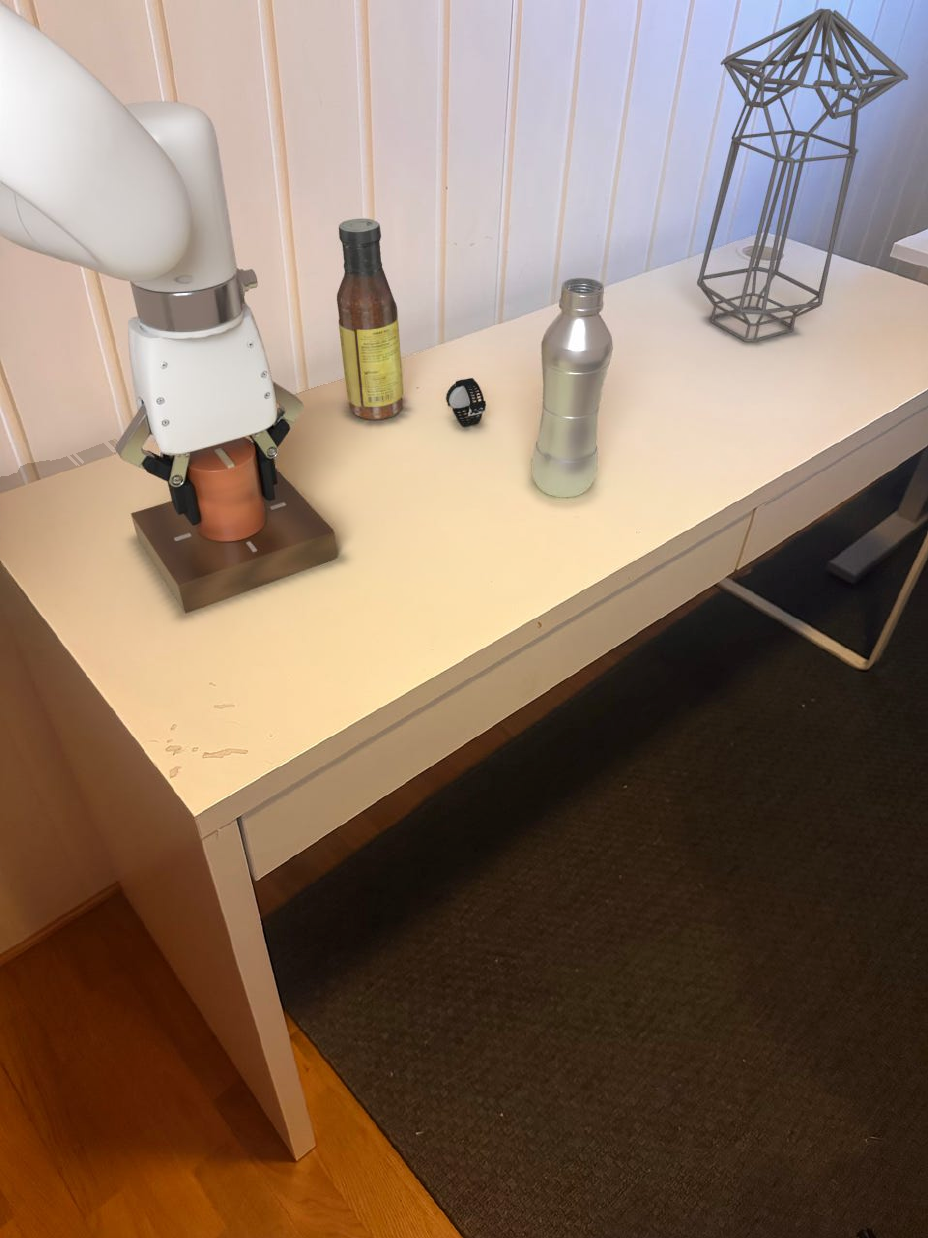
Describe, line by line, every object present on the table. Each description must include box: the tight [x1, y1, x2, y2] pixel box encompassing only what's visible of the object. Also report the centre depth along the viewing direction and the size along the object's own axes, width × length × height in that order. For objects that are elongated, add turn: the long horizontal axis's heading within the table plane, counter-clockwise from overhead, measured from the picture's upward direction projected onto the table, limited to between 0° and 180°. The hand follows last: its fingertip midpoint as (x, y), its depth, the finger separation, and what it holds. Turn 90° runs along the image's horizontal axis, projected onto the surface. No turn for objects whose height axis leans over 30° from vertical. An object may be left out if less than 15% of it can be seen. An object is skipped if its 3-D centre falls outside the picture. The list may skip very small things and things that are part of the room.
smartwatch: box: [445, 377, 487, 428], centre depth 96 cm, size 4×5×5 cm
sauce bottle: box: [336, 218, 404, 421], centre depth 93 cm, size 7×6×20 cm
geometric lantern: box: [696, 7, 909, 343], centre depth 107 cm, size 16×16×35 cm
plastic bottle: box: [530, 277, 614, 498], centre depth 82 cm, size 6×7×20 cm
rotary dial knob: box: [186, 437, 266, 542], centre depth 76 cm, size 6×6×7 cm
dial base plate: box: [130, 468, 338, 614], centre depth 79 cm, size 14×12×3 cm
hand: (228, 503), depth 77 cm, fingers closed on rotary dial knob, 6 cm apart
